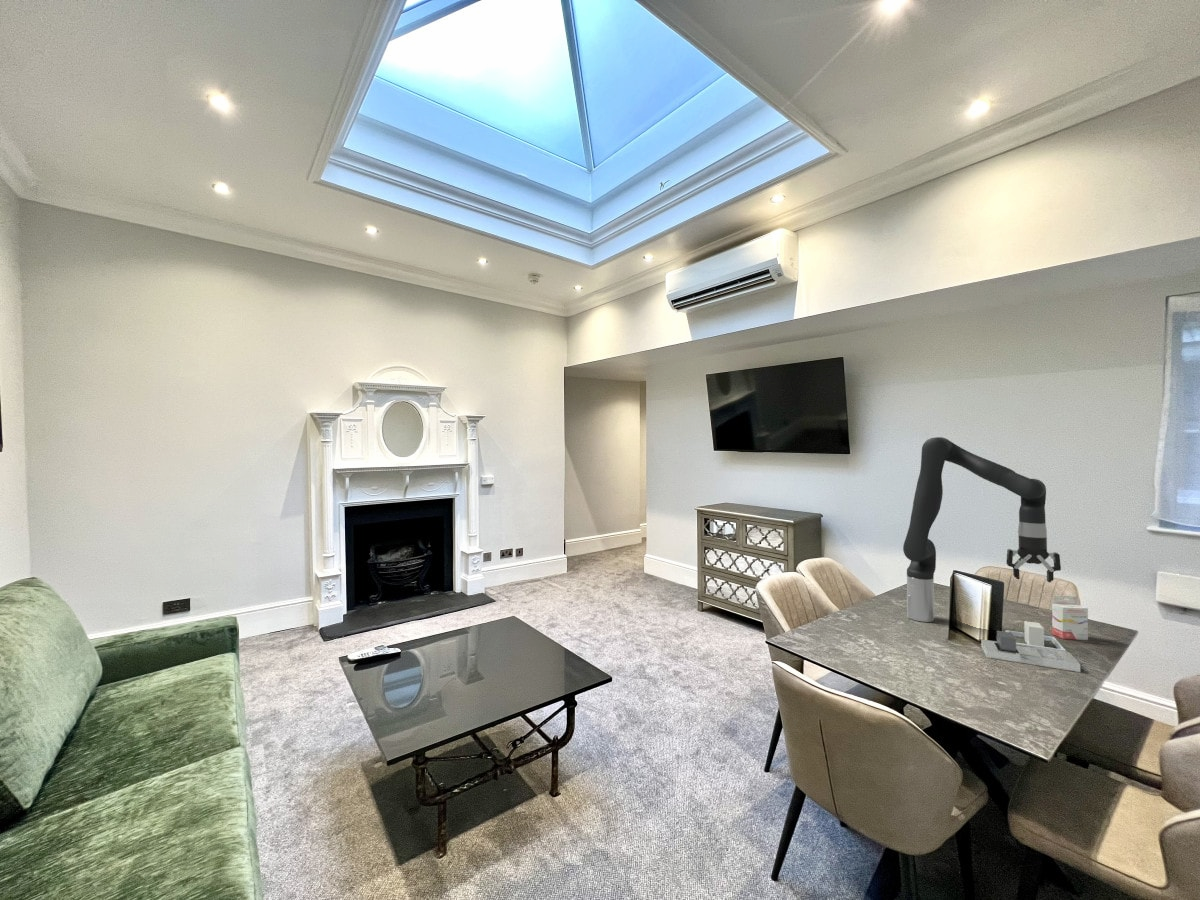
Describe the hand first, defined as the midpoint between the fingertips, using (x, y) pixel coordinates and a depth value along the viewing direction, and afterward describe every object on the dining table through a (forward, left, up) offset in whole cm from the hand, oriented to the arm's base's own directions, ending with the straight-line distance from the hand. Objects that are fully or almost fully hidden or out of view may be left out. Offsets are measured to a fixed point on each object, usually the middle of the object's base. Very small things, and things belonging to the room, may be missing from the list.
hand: (1033, 580), depth 171 cm
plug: (0, 0, -23) cm, 23 cm away
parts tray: (0, 0, -23) cm, 23 cm away
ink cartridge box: (+13, +14, -23) cm, 30 cm away
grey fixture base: (-5, -16, -23) cm, 28 cm away
